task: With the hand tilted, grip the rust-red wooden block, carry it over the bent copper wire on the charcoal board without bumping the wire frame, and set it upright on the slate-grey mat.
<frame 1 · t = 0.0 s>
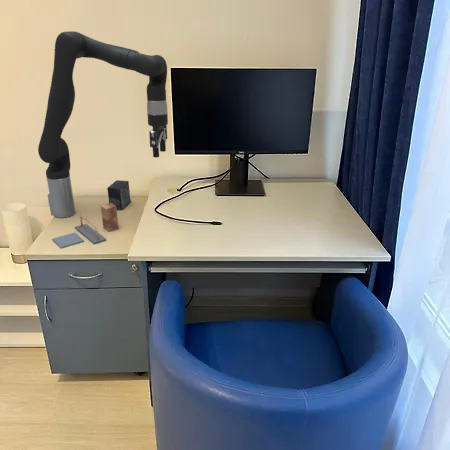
hand: (159, 154, 168), 29 cm above the table, tool pointing down, fingers open, 8 cm apart
small box: (120, 205, 197), on the table
wire frame: (90, 235, 170), on the table
mat: (68, 240, 164), on the table
block: (111, 228, 175), on the table
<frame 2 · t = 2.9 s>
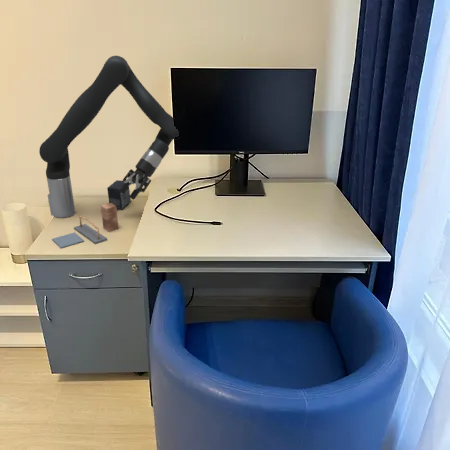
hand: (126, 195, 174), 12 cm above the table, tool tilted 45°, fingers open, 8 cm apart
nothing on the table moved.
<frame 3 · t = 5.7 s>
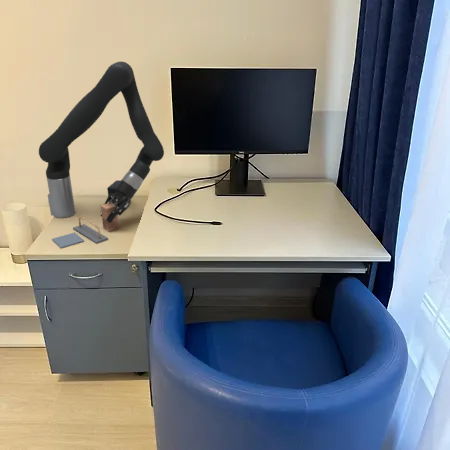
hand: (105, 219, 171), 5 cm above the table, tool tilted 45°, fingers closed on block, 4 cm apart
block: (111, 228, 175), on the table, touching gripper
everything else where it was.
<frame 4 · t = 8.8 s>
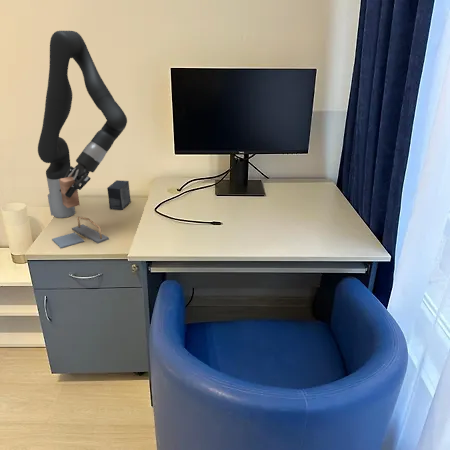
hand: (64, 194, 157), 19 cm above the table, tool tilted 45°, fingers closed on block, 4 cm apart
block: (71, 204, 160), point 14 cm above the table, touching gripper
everything else where it was.
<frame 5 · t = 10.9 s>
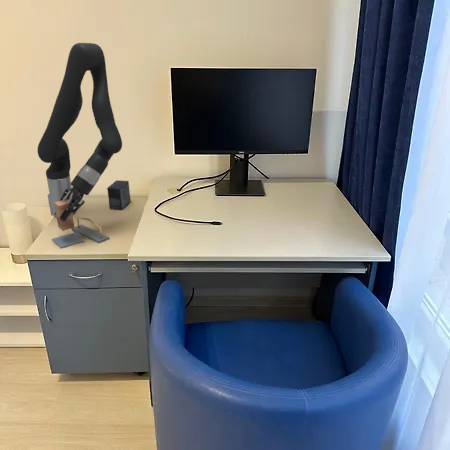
hand: (59, 217, 159), 10 cm above the table, tool tilted 45°, fingers closed on block, 4 cm apart
block: (66, 227, 162), point 6 cm above the table, touching gripper
everything else where it was.
when the fingers open (7 cm above the table, at t = 12.3 s): block drops 1 cm, resting on mat.
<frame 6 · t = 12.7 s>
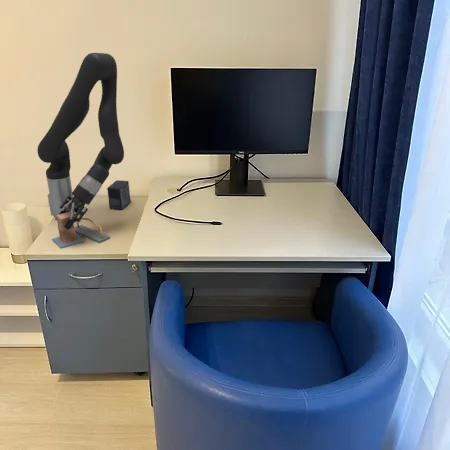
hand: (61, 224, 160), 7 cm above the table, tool tilted 45°, fingers open, 8 cm apart
block: (68, 239, 164), resting on mat
everything else where it was.
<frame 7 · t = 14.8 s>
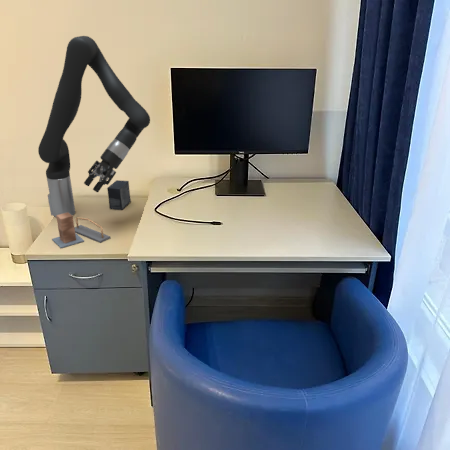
hand: (90, 188, 164), 18 cm above the table, tool tilted 45°, fingers open, 8 cm apart
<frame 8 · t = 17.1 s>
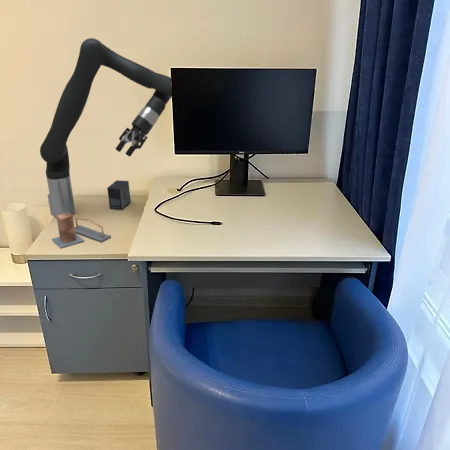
hand: (122, 152, 172), 29 cm above the table, tool tilted 45°, fingers open, 8 cm apart
at the end: block 0.1 cm off-centre on the mat, point 0.5 cm above the mat's base; block tilted 0°; wire frame moved 0.4 cm from its start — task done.
